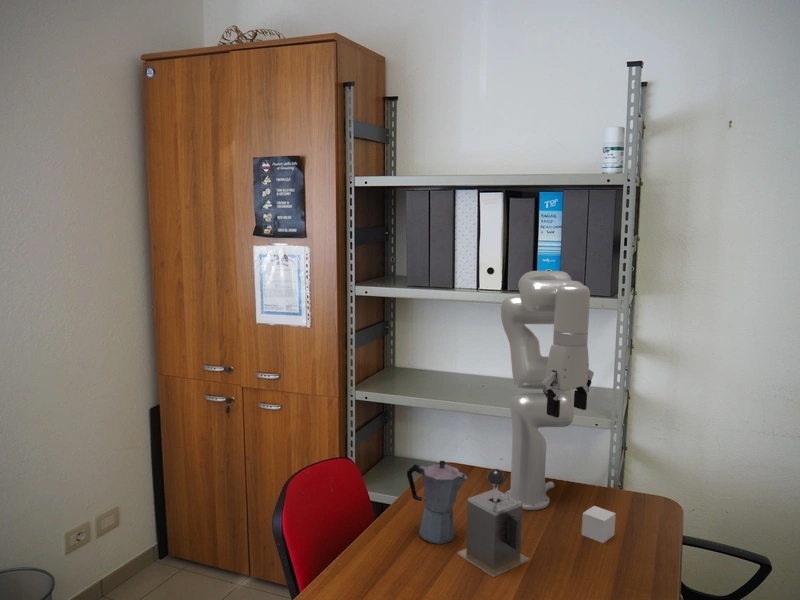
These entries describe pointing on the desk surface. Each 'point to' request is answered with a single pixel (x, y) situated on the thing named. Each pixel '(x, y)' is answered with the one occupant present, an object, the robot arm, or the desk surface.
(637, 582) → the desk surface
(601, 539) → the white cube
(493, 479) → the ball knob lever
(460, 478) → the moka pot
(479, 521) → the grey slotted box
